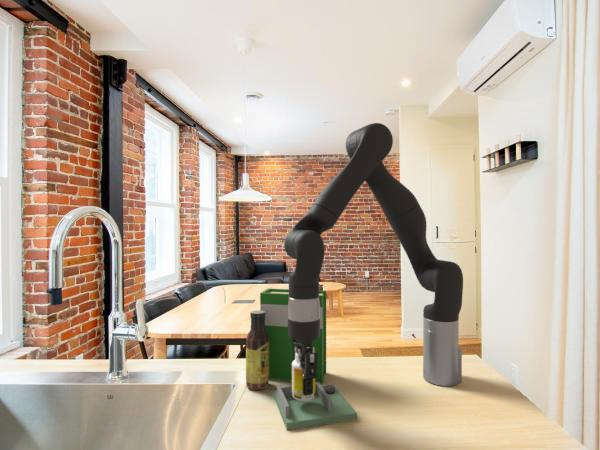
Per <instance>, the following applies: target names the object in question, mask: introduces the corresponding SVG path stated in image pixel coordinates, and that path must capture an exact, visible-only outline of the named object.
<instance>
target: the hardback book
mask: <svg viewBox="0 0 600 450" xmlns="http://www.w3.org/2000/svg"><path fill="white" fill-rule="evenodd" d="M259 300H260V303H259V308H260V310H261V311H265V330H266V333H267V335H268V338H269V380H276V381H278V380H279V381H289V382H290V381H291V382H292V362H293V345H292V339H291V338H290V337H289V336H288V301H289V288H266V289H265V290H263V291H261V292H260V295H259ZM319 302H320V336H319V337H318V338H317V339H314V340H313V341H312V344H313V345H314V350H315V352H314V353H317V354H318V359H317V377H316V382H319V383H320V385H324V375H327V290H319Z"/></svg>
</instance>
